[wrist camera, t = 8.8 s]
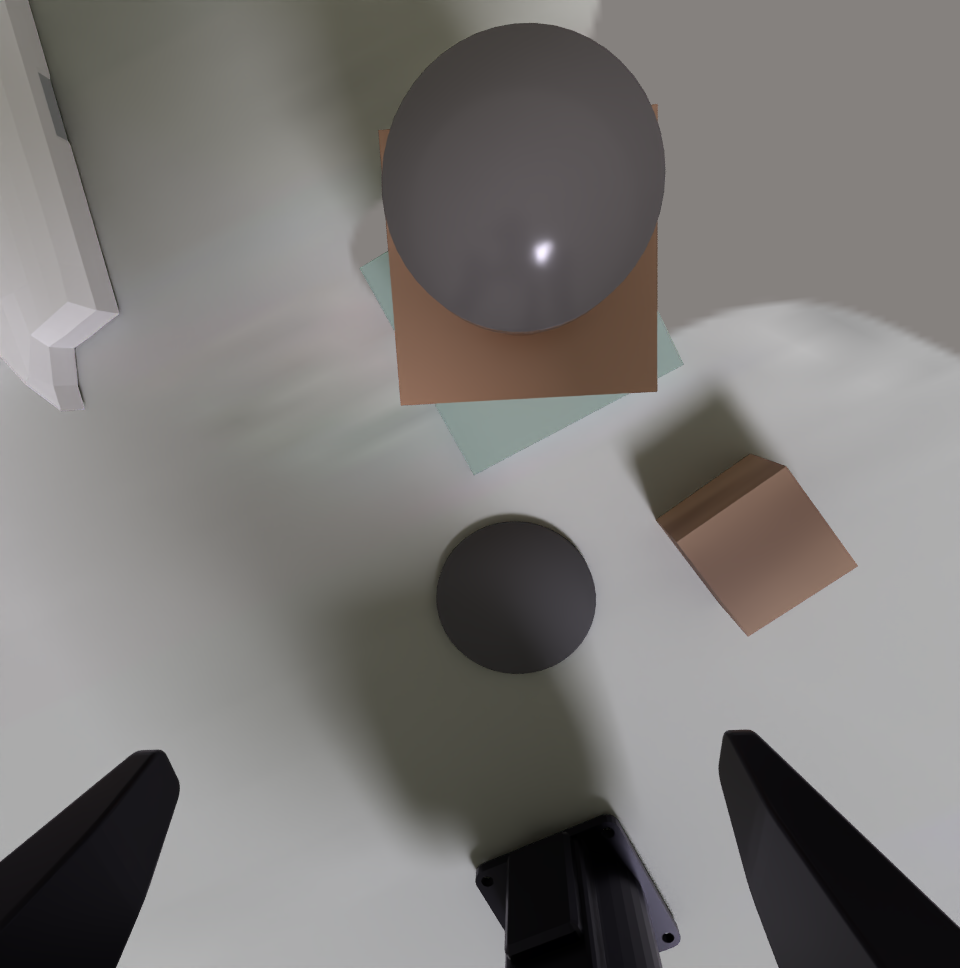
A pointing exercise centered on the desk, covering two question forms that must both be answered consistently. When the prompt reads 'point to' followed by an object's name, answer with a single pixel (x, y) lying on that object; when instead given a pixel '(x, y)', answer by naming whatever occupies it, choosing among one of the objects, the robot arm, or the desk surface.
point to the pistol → (43, 226)
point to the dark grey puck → (516, 597)
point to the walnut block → (756, 541)
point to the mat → (517, 422)
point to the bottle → (523, 221)
